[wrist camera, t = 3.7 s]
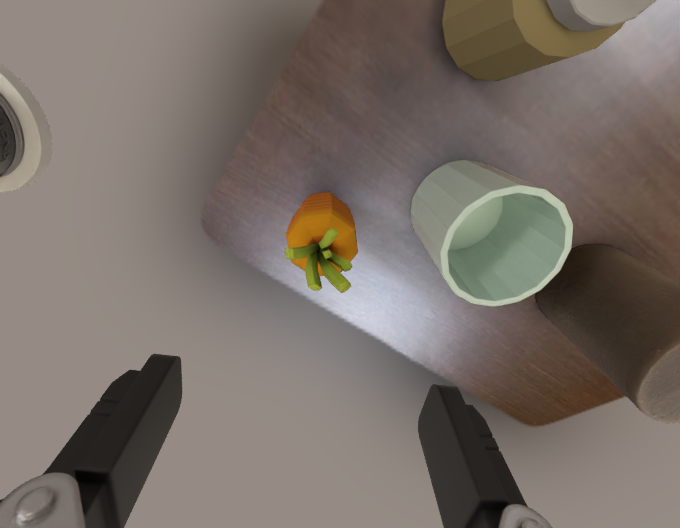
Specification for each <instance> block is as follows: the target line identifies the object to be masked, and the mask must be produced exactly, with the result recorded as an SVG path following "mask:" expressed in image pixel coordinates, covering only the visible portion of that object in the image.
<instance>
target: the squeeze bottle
mask: <svg viewBox="0 0 680 528" xmlns="http://www.w3.org/2000/svg"><path fill="white" fill-rule="evenodd" d="M655 1H656V0H446V1H445V7H444V13H443V19H442V25H443V31H444V37H445V43H446V48H447V50H448V52H449V53H450V55H451V56H452V58H453V60H454V61H455V63H456V65H457V66H458V68H460V69H461V70H463V71H464V72H466V73H468V74H469V75H471V76H472V77H474V78H475V79H481V80H493V81H499V80H502V79H505V78H508V77H511V76H514V75H517V74H520V73H523V72H526V71H529V70H533V69H536V68H539V67H542V66H545V65H548V64H551V63H554V62H557V61H560V60H563V59H566V58H569V57H572V56H575V55H578V54H581V53H583V52H586V51H589V50H592V49H595V48H597V47H598V46H599V45H600V44H602V43H603V42H604V41H605V40H607V39H608V38H609V37H610V36H612V35H613V34H614V33H615V32H617V31H618V30H619V29H620V28H621V27H622V26H623V24H624V23H625V21H628V20H631V19H634V18H635V17H636V16H638V15H639V14H640V13H641V12H643V11H644V10H645V9H646V8H648V7H649V6H650V5H651V4H653V3H654V2H655Z"/></svg>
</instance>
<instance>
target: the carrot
mask: <svg viewBox="0 0 680 528" xmlns="http://www.w3.org/2000/svg"><path fill="white" fill-rule="evenodd" d="M286 238H287V243H288V247H289V248H285V256H286V258H288V259H291V261H292V263H293V264H295V265H296V266H298V267H300V268H301V269H303V270H304V271H306V279H307V283H308V287H309V288H311V289H312V290H315V291H317V290H320V289H321V288H322V285H321V281H320V277H319V276H325V277H326V278H327V279H328V280H329V282H330V283H331V284H332V285H333V286H334V287H335V288H336V289H338V290H339V291H340V292H341V293H343V292H345V291H347V290H348V289H349V288H350V286H351V284H350V282H349V281H348V280H347V279H346V278H345V277H344V276H343V275H342V274H341V272H342V271H349V270H350V269H351V268H352V264H351V263H350V261H351V260H352V259H353V258H354V257H355V256H356V254H357V253H358V249H357V240H356V231H355V223H354V220H353V216H352V214H351V211H350V209H349V208H348V206H347V205H346V204H344V203H343V202H342V201H341V200H339V199H338V198H337V197H335V196H334V195H333V194H331V193H330V192H323V193H315V194H311V195H310V196H308V197H307V199H306V200H305V201H304V203H303V204H302V205H301V207H300V208H299V209H298V211H297V212H296V213H295V215H294V216H293V218H292V220H291V222H290V224H289V227H288V229H287V232H286Z"/></svg>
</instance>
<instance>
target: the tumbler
mask: <svg viewBox="0 0 680 528" xmlns="http://www.w3.org/2000/svg"><path fill="white" fill-rule="evenodd" d="M410 215H411V222H412V226H413V229H414V232H415V233H416V235H417V236H418V238H419V239H420V241H421V243H422V244H423V246H424V247H425V249H426V250H427V252H428V254H429V255H430V257H431V258H432V260H433V261H434V263H435V265H436V266H437V268H438V269H439V271H440V272H441V274H442V276H443V277H444V279H445V280H446V282H447V283H448V285H449V286H450V288H451V289H452V291H453V292H454V293H455V294H457V295H458V296H460V297H462V298H463V299H465V300H467V301H469V302H470V303H473V304H479V305H486V306H500V305H505V304H510V303H515V302H518V301H521V300H523V299H525V298H527V297H528V296H530V295H532V294H534V293H536V292H538V291H540V290H541V289H542V288H543V287H544V286H545V285H546V284H547V283H548V282H549V281H550V280H551V279H552V278H553V277H554V276H555V275H556V274H557V273H558V272H559V271H560V270H561V268H562V266H563V264H564V262H565V260H566V258H567V256H568V254H569V252H570V250H571V246H572V233H573V223H572V221H571V219H570V216H569V214H568V212H567V209H566V207H565V204H564V203H563V202H561V201H560V200H559V199H557V198H556V197H555V196H554V195H552V194H551V193H550V192H548V191H547V190H545V189H543V188H541V187H538V186H536V185H534V184H531V183H529V182H527V181H525V180H522V179H520V178H518V177H515V176H513V175H511V174H508V173H506V172H504V171H502V170H499V169H497V168H495V167H492V166H490V165H488V164H485V163H480V162H477V161H473V160H458V161H453V162H450V163H447V164H444V165H442V166H440V167H439V168H437V169H435V170H434V171H433V172H431V173H430V174H429V175H428V176H427V177H426V178H425V179H424V180H423V181H422V182H421V184H420V185H419V187H418V188H417V190H416V192H415V194H414V197H413V200H412V204H411V212H410Z"/></svg>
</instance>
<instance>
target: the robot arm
mask: <svg viewBox="0 0 680 528" xmlns="http://www.w3.org/2000/svg"><path fill="white" fill-rule="evenodd" d="M24 148H25V142H24V134H23V130H22V127H21V124H20V122H19V119H18V117H17V115H16V113H15V112H14V110H13V108H12V107H11V105H10V104H9V102H8V101H7V100H6V99H5V97H4V96H3V95H2V94H1V93H0V178H1V177H4V176H7V175H9V174H10V173H12V172H13V171H14V170H15V169H16V168H17V167H18V166H19V164H20V163H21V160H22V158H23V155H24ZM181 399H182V374H181V359H180V357H178V356H169V355H160V354H153V355H151V356H150V358H149V359H148V360H147V362H146V363H145V365H144V366H143V368H142V369H141V371H136V370H129V371H127V372H126V373H125V374H123V375H122V376H120V377H119V378H118V379H116V380H115V381H114V382H112V383H111V385H110V386H109V388H108V389H107V390H106V391H105V393H104V394H103V395H102V397H101V399H100V401H98V402H97V404H96V405H95V406H94V408H93V409H92V410H91V413H90V415H88V416H87V417H86V418H85V420H84V421H83V422H82V424H81V425H80V426H79V428H78V429H77V431H76V432H75V433H74V434H73V436H72V437H71V438H70V440H69V441H68V442H67V444H66V445H65V447H64V448H63V449H62V451H61V452H60V453H59V454H58V456H57V457H56V458H55V460H54V461H53V463H52V464H51V465H50V467H49V468H48V469H47V470H46V471H45V473H43V474H42V475H41V476H38V477H36V478H33V479H31V480H29V481H27V482H25V483H24V484H22V485H20V486H19V487H17V488H16V489H14V490H13V491H12V492H11V493H10V494H8V495H7V496H6V497H5V498H4V499H2V500H0V528H124V526H125V524H126V522H127V520H128V518H129V515H130V513H131V511H132V509H133V507H134V505H135V503H136V501H137V498H138V496H139V494H140V492H141V490H142V488H143V485H144V484H145V481H146V479H147V477H148V475H149V473H150V471H151V469H152V466H153V464H154V462H155V460H156V458H157V456H158V454H159V451H160V449H161V447H162V445H163V443H164V441H165V439H166V437H167V434H168V432H169V430H170V428H171V426H172V424H173V421H174V419H175V417H176V415H177V413H178V410H179V407H180V404H181ZM418 432H419V438H420V441H421V445H422V449H423V452H424V456H425V460H426V463H427V467H428V471H429V474H430V478H431V482H432V486H433V489H434V493H435V497H436V500H437V504H438V508H439V511H440V515H441V518H442V522H443V526H444V528H552V526H551V525H550V524H549V523H548V522H547V520H546V519H545V518H544V517H542V516H541V515H540V514H539V513H537V512H536V511H534V510H533V509H531V508H529V507H528V506H527V504H526V503H525V501H524V499H523V497H522V495H521V493H520V491H519V489H518V486H517V485H516V482H515V480H514V478H513V476H512V474H511V472H510V470H509V468H508V466H507V464H506V462H505V460H504V458H503V456H502V454H501V452H500V451H499V447H498V446H497V443H496V441H495V439H494V438H492V433H491V431H490V429H489V427H488V425H487V423H486V421H485V419H484V418H483V417H482V416H481V415H480V413H479V412H478V411H477V410H476V409H475V408H474V407H473V406H472V405H466V404H465V402H464V400H463V398H462V395H461V393H460V391H459V389H458V388H457V387H454V386H445V385H435V384H434V385H432V386H431V388H430V390H429V393H428V395H427V398H426V400H425V403H424V406H423V408H422V411H421V413H420V416H419V421H418Z"/></svg>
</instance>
